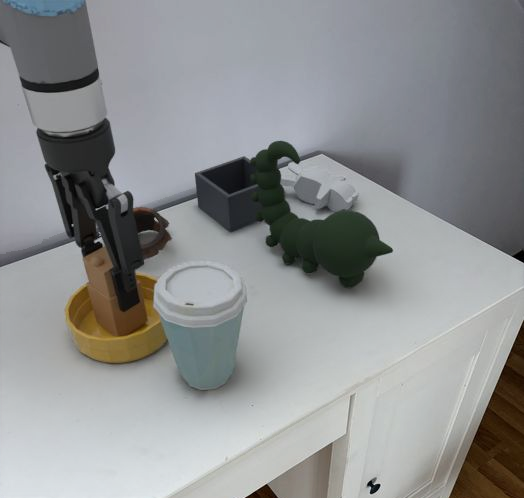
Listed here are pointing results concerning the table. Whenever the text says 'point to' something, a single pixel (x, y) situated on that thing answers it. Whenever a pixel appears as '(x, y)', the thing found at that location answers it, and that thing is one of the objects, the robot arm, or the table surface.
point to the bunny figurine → (320, 187)
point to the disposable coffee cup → (202, 319)
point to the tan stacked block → (111, 297)
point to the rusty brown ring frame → (147, 222)
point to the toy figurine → (313, 226)
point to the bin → (228, 193)
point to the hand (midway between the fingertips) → (116, 296)
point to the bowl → (103, 342)
